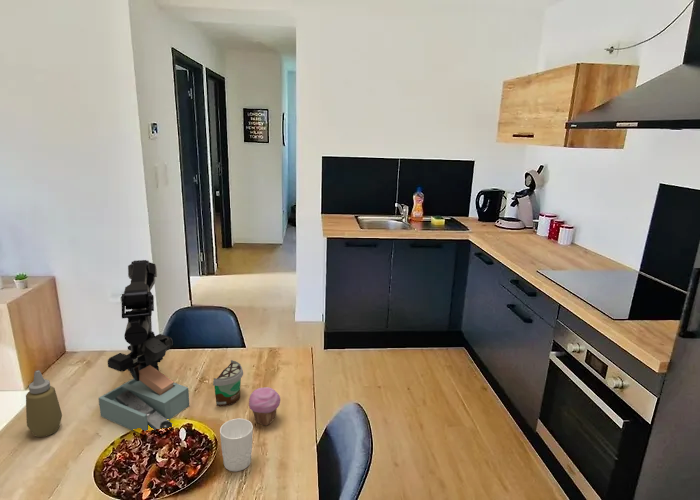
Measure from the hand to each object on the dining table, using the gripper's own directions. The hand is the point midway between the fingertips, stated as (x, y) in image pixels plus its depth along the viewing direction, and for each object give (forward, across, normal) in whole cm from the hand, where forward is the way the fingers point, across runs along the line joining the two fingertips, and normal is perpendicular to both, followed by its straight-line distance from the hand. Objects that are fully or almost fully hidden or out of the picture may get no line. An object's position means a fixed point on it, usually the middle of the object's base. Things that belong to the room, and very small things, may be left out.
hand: (144, 377), depth 137 cm
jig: (+8, -4, -5) cm, 10 cm away
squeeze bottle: (+8, -23, +11) cm, 27 cm away
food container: (+8, +13, -23) cm, 27 cm away
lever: (+5, -8, -9) cm, 13 cm away
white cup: (+8, -8, -42) cm, 43 cm away
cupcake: (+8, +9, -38) cm, 40 cm away
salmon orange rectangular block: (+1, 0, -4) cm, 4 cm away
